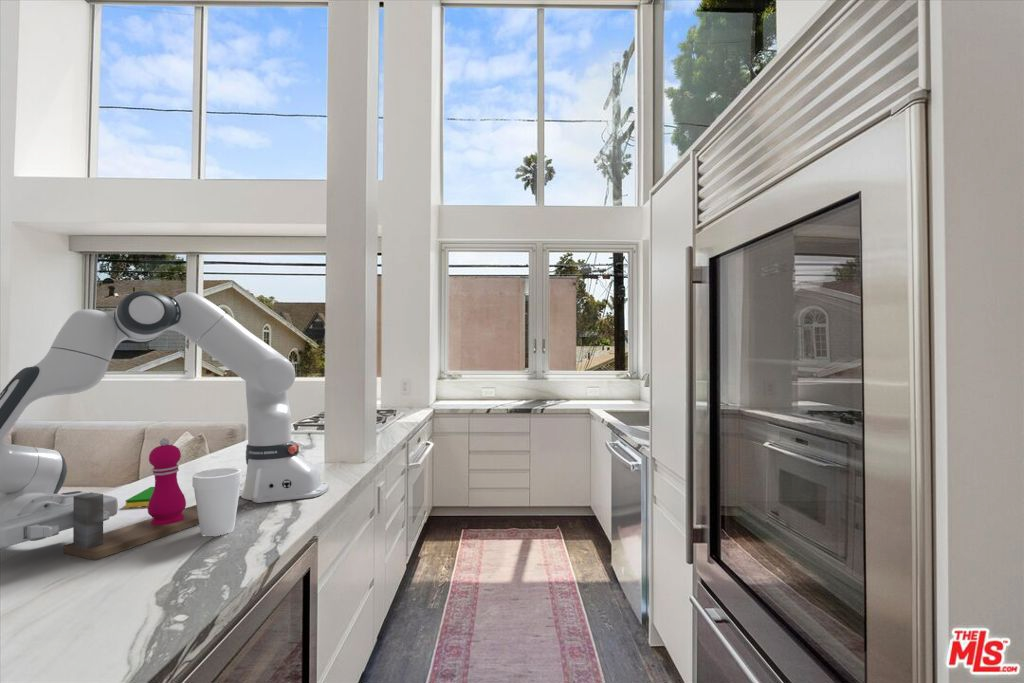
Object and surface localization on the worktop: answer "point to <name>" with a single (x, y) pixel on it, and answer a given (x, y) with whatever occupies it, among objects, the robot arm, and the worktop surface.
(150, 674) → the worktop surface
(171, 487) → the pepper mill
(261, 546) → the worktop surface
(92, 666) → the worktop surface
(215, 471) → the foam cup
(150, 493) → the dish sponge
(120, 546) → the strip
